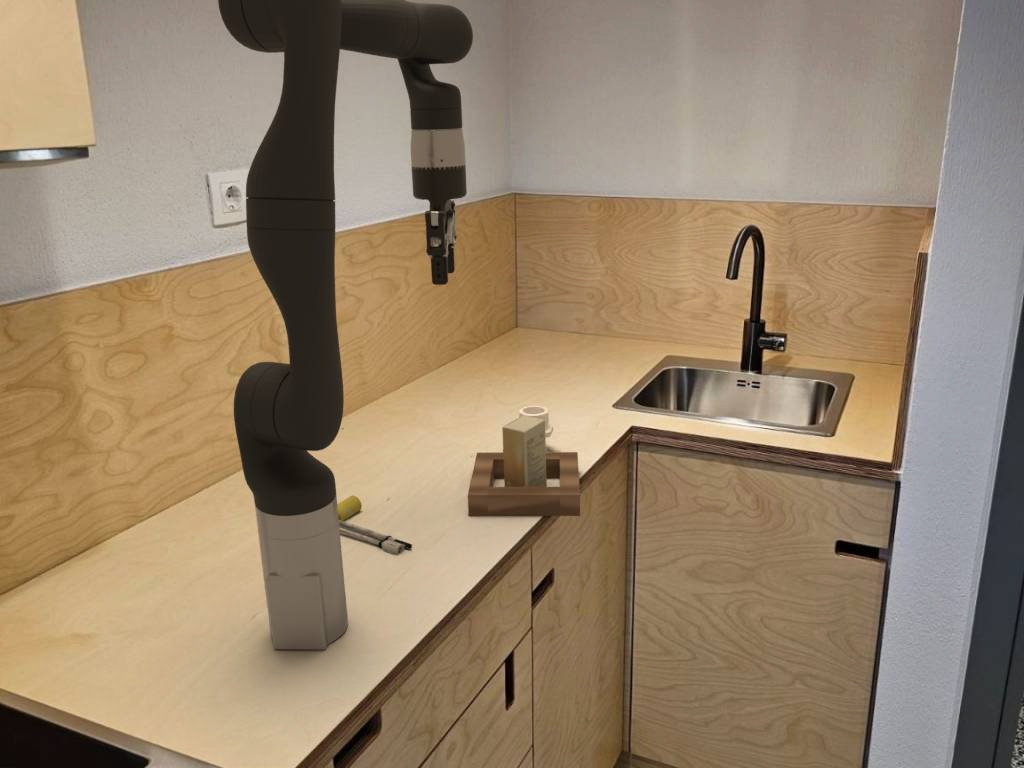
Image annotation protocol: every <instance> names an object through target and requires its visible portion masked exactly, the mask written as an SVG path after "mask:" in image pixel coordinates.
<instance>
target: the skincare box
mask: <svg viewBox="0 0 1024 768" xmlns="http://www.w3.org/2000/svg"><path fill="white" fill-rule="evenodd" d="M546 438H547V437H545V420H543V419H538V418H534V417H529V416H522V417H520V418H519V417H517V418H515V419H514V420H512V421H511V422H509V423H507V424H506V425H504V426H502V449H503V456H504V479H503V480H504V487H548V485H547V480H548V479H546V452H547V451H546V449H547V448H546V447H547V445H546V442H547V441H546Z"/></svg>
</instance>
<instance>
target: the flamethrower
mask: <svg viewBox="0 0 1024 768" xmlns="http://www.w3.org/2000/svg"><path fill="white" fill-rule="evenodd" d="M337 506H338V517H339V518H338V519H339V530H340V534H341V533H342V534H344V535H347V536H349V537H353V538H355V539H359V540H362V541H365V542H368V543H370V544H373V545H377V547H378V548H380V549H382V550H383V551H384V552H387V553H390V554H393V555H395V556H398V555H400V552H401V553H403V552H404V550H405V548H406V549H409V550H410V549H412V548H413V544H412V543H409V542H406V541H403V540H400V539H397V538H395V537H393V536H392V535H386V534H383V533H380V532H377V531H374V530H372V529H368V528H365V527H362V526H358V525H355V524H354V523H350V522H347V521H346V520H348V518H350V517H352V516H353V515H355V514H356V513H358V512H360V511H361V510H362V506H363V505H362V502H361V500H360V499H359V498H358V496H356V495H354V494H353V495H350V496H348V497H347V498H345V499H343V500H342V501H340V502H339V503H337ZM363 534H364V535H363Z"/></svg>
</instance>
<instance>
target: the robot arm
mask: <svg viewBox="0 0 1024 768" xmlns="http://www.w3.org/2000/svg"><path fill="white" fill-rule="evenodd" d="M217 3H218V10H219V12H220V16H221V20H222V22H223V24H224V26H225V28H226V30H227V31H228V32H229V34H230V36H231V37H233V39H234V40H235V41H237V42H238V43H239V44H240V45H242V46H243V47H245V48H247V49H250V50H252V51H256V52H260V53H267V54H269V53H276V54H277V53H283V59H284V60H283V78H282V79H283V80H282V88H281V95H280V100H279V102H278V105H277V109H276V112H275V114H274V116H273V118H272V120H271V123H270V125H269V127H268V129H267V131H266V133H265V135H264V137H263V138H262V140H261V143H260V144H259V147H258V149H257V150H256V153H255V155H254V158H252V159H253V160H252V162H251V164H250V167H249V170H248V173H247V177H246V184H245V197H246V198H245V211H246V213H245V214H246V220H245V221H246V235H247V237H246V238H247V245H248V248H249V251H250V254H251V257H252V258H253V261H254V263H255V265H256V268H257V270H258V272H259V274H260V276H261V277H262V280H263V281H264V283H265V285H266V286H267V288H268V290H269V291H270V293H271V296H272V297H273V299H274V301H275V303H276V305H277V307H278V309H279V311H280V314H281V316H282V319H283V322H284V326H285V330H286V337H287V342H288V356H289V363H285V362H276V361H275V362H274V361H260V362H257V363H254V364H252V365H251V366H249V367H248V368H247V369H245V370H244V371H243V373H242V374H241V376H240V377H239V379H238V382H237V384H236V388H235V391H234V398H233V420H234V421H233V422H234V428H235V434H236V439H237V444H238V449H239V450H238V451H239V455H240V461H241V466H242V472H243V475H244V476H243V477H244V480H245V483H246V484H247V486H248V488H249V490H250V491H251V492H252V495H253V499H254V500H253V501H254V507H255V518H256V525H257V526H256V527H257V533H258V542H259V549H260V550H259V551H260V557H261V558H260V559H261V567H262V576H263V582H264V591H265V592H264V593H265V598H266V607H267V615H268V623H269V624H268V625H269V631H270V633H269V634H270V637H271V639H272V645H273V649H274V650H326V649H327V648H328V646H329V644H331V643H332V642H333V641H335V640H337V639H338V638H340V637H341V636H342V635H343V634H344V633H345V632H346V630H347V628H348V626H349V617H348V608H347V606H348V605H347V596H346V595H347V594H346V585H345V576H344V574H345V573H344V565H343V564H344V563H343V554H342V553H343V551H342V544H341V543H342V542H341V532H340V530H339V527H340V526H339V519H338V518H339V517H338V506H337V504H338V497H337V487H336V479H335V474H334V473H333V470H332V469H331V468H330V467H329V466H327V465H326V464H325V463H323V462H321V460H319V459H317V458H316V457H315V456H314V455H312V454H311V453H310V452H319V451H322V450H325V449H326V448H329V446H330V445H331V444H332V443H333V442H334V441H335V439H336V437H337V436H338V434H339V431H340V428H341V425H342V421H343V416H344V404H345V403H344V402H345V401H344V399H345V398H344V395H345V394H344V393H345V391H344V380H343V371H342V369H343V368H342V361H341V350H340V343H339V340H340V339H339V331H338V323H337V321H338V320H337V303H336V298H337V297H336V269H335V268H336V267H335V266H336V264H335V261H336V259H335V256H336V251H335V250H336V189H335V114H336V97H337V95H336V94H337V85H338V84H337V83H338V73H339V63H340V51H341V50H343V51H347V52H348V51H349V52H355V53H360V54H365V55H371V56H377V57H382V58H390V59H397V61H398V65H399V67H400V70H401V75H402V78H403V81H404V85H405V87H406V93H407V94H408V99H409V110H410V126H411V128H410V129H411V132H410V133H411V137H410V161H411V162H410V163H411V165H410V166H411V180H412V183H411V184H412V196H413V197H414V198H415V199H416V200H426V201H428V203H429V210H428V209H427V210H425V213H424V218H425V231H426V232H425V238H426V250H425V252H426V254H427V256H429V258H430V268H431V283H432V284H433V285H435V286H443V285H444V286H445V285H447V284H448V282H449V274H453V273H454V272H455V270H456V267H455V264H456V262H455V248H454V247H455V245H456V244H457V243H456V242H457V237H458V235H457V210H456V209H455V206H456V202H455V200H457V199H462V198H465V197H466V195H467V194H468V193H467V192H468V191H467V170H466V169H467V168H466V167H467V166H466V146H465V145H466V144H465V138H464V132H463V112H462V110H463V109H462V106H463V105H462V96H461V90H460V88H459V87H458V86H456V85H455V84H452V83H448V82H444V81H439V80H438V79H436V77H435V75H434V74H433V71H432V69H431V65H442V64H443V65H444V64H446V65H447V64H448V65H449V64H455V63H458V62H460V61H462V60H464V58H466V56H467V55H468V54H469V52H470V51H471V47H472V45H473V40H474V32H473V31H474V30H473V27H472V24H471V22H470V20H469V18H468V17H467V15H466V14H465V13H464V12H463V11H462V10H461V9H459V8H457V7H455V6H454V5H449V4H441V3H429V2H428V3H427V2H423V3H422V2H413V1H408V0H217ZM436 245H437V246H436Z"/></svg>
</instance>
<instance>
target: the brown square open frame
mask: <svg viewBox="0 0 1024 768" xmlns="http://www.w3.org/2000/svg"><path fill="white" fill-rule="evenodd" d="M578 455H579V453H578V452H577V451H561V452H560V451H555V452H554V451H550V452H549V451H546V479H547V480H549V479H559V486H547V487H505V486H494V483H495V482H494V481H495V479H496V480H497V479H503V480H504V456H503V452H496V451H495V452H494V451H493V452H490V451H489V452H488V451H487V452H476V455H475V460H474V464H473V470H472V473H471V478H470V483H469V487H468V492H467V507H468V508H467V509H468V510H467V511H468V517H580V516H581V488H580V487H581V486H580V472H579V471H580V469H579V456H578Z"/></svg>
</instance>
